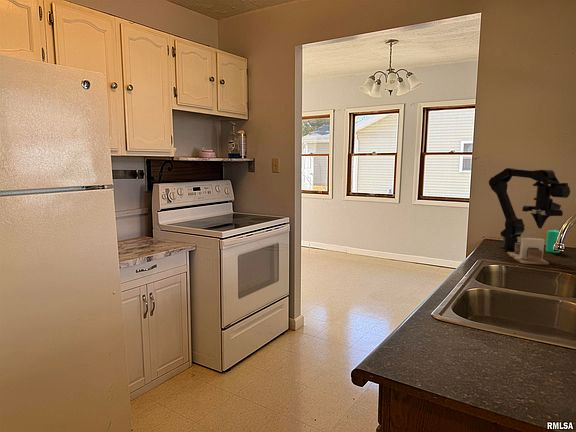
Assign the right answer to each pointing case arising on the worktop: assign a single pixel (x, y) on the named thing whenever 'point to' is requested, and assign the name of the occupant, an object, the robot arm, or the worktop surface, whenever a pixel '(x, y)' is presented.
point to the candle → (551, 240)
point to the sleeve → (531, 246)
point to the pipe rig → (532, 257)
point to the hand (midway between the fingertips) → (539, 228)
